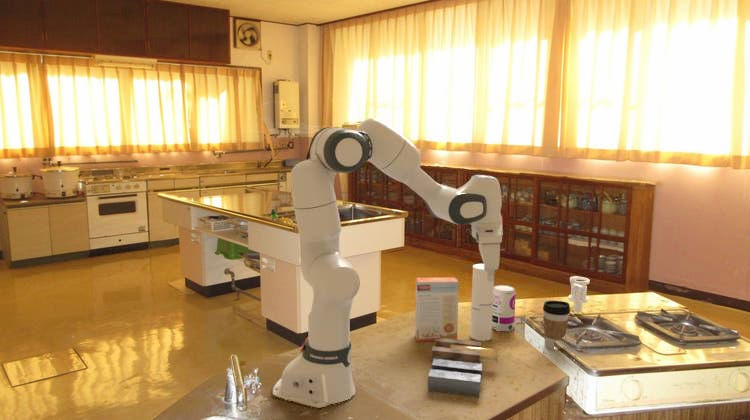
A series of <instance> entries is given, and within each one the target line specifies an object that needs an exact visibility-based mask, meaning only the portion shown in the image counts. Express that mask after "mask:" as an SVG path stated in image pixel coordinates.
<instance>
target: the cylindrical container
mask: <svg viewBox="0 0 750 420" xmlns="http://www.w3.org/2000/svg"><path fill="white" fill-rule="evenodd" d="M471 279H472V280H471V281H472V282H471V283H472V284H471V285H472V286H471V308H470V311H471V314H470V333H469V335H470V338H471V339H472V338H473V339H472V340H474V339H475V340H474V341H478V340H479V341H478V342H486V341H485V340H487V341H490V340H491V339H492V336H493V335H492V333H493V331H492V329H493V328H492V313H493V290H494V287H495V280H494V281H488V279H487V271H485V270H484V263H477V264H473V265H472V278H471Z"/></svg>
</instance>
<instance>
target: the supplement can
mask: <svg viewBox="0 0 750 420" xmlns="http://www.w3.org/2000/svg"><path fill="white" fill-rule="evenodd" d="M516 296H517V292H516V290H515V288H514V287H513V286H510V285H502V284H498V285H497V284H496V285H494V290H493V313H492V329H493V330H494V329H495V330H494V331H496V330H498V331H497V332H500V331H509V332H511V331H513V329H514V328H515V317H516V315H515V314H516V298H517V297H516ZM510 330H511V331H510Z"/></svg>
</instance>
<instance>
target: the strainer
mask: <svg viewBox="0 0 750 420" xmlns="http://www.w3.org/2000/svg"><path fill="white" fill-rule="evenodd" d="M569 282H570V287H571V290H570V294H569V295H568V300H569V301H570V302H573V310H574V311H577V312H580V311H582V310H583V304H584V303H585V304H586V303H588V302H589V297H588V296H587V290H588V286H587V285H589V284H590V279H589V278H587V277H583V276H577V275H575V276H570V277H569Z"/></svg>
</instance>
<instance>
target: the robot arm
mask: <svg viewBox="0 0 750 420" xmlns="http://www.w3.org/2000/svg"><path fill="white" fill-rule="evenodd" d="M366 162H369V163H370V164H372V165H374V166H375V168H376V169H378V170H380V172H382V173H383V174H385V175H386V176H388V177H389V178H391V179H394V180H395V181H398V182H400V183H402V184H404V185H406V186H407V187H408V188H409V189H410V190H411V191H413V192H414V193H415V194H417V195H418V196H419V197H420V199H422V201H423V202H424V204H425V206H426V208H427V211H429V213H430V214H431V216H433V217H435V218H436V219H440V220H444V221H447V222H449V223H452V224H455V225H458V226H466V225H469V224H470V225H471V236H472V238H474V239H475V240H476V242H477V243H478V251H479V253H480V256H481V259H482V260H481V261H482V262H483V263H482V264H484V270H485V271H487V279H488V281H494V282H495V272H496V271H497V270H499V266H500V258H501V257H500V255H501V244H502V243H503V235H504V233H503V231H504V229H503V216H502V213H501V212H502V211H501V209H502V206H503V205H502V204H503V203H502V200H503V199H502V191H501V185H500V182H499V180H498V178H496V177H495V176H492V175H486V174H474V175H472V176H471V177H470V179H469V181H467V182H466V183H465V184H463V185H462V186H460V187H459V188H455V187H452V186H448V185H446V184H443V183H442V184H441V183H438V182H437V181H436V180H434V179H433V178H432V177H431V176H429V174H428V173H426V172H425V171H424V170H423V169H422V168H421V165H422V153H421V152H420V150H419V149H418V148H417V146H416V145H415V144H414V143H413V142H412V141H411V140H410V139H409V138H408V137H406V136H405V135H404V134H403V133H401V132H400V131H399V130H397V129H396V128H395V127H393V126H391V124H389V123H387V122H385V121H383V120H381V119H380V118H377V117H370V118H368V119H366V120H364V121H362V122H361V123H360V125H358V126H357V128H356V129H349V128H347V129H346V128H344V127H341V126H340V127H339V126H331V127H324V128H322V129H319V130H318V131H317V132H316V133H315V134H314V135H313V136H312V138H311V141H310V144H309V149H308V150H307V153H306V159H305V160H301V161H300V162H298V163H297V164H295V165H294V166H293V168H291V171H290V191H291V192H290V193H291V199H292V205H293V210H294V216H295V221H296V224H297V225H296V226H297V231H298V236H299V249H300V250H299V252H300V253H299V254H300V256H299V257H300V263H299V264H300V272H301V274H302V276H303V278H304V280H305V281H306V283H307V284H308V285H309V286H311V288H312V293H313V300H312V304H311V310H310V312H309V314H308V315H307V316H308V317H307V319H308V320H307V324H308V326H307V327H308V328H307V329H308V336H307V337H306V338H305V340H304V342H303V343H302V345H301V347H300V348H299V350H300V351H299V353H302V354H300V355H298V356H297V357H295V358H294V359H292V360H291V361H290V362H288V364H287V365H286V366H285V368H284V369H283V372H282V374H281V378H279V380H277V382H275V384H274V386H273V388H272V396H273V395H276V396H279V397H283V398H287V399H291V400H295V401H299V402H303V403H307V404H310V405H313V406H317V407H323V406H326V405H328V404H331V403H337V402H342V401H345V400H347V401H349V400H351V399H352V398H353V397H354V396H355V394H356V392H357V391H356V386H355V383H354V380H353V374H352V367H351V363H352V358H353V356H352V355H353V354H352V353H353V352H352V342H351V340H350V338H351V335H350V332H351V331H350V327H351V326H350V323H351V322H350V318H351V311H352V306H353V301H354V298H355V297H356V296H357V294H358V292H359V290H360V286H361V279H360V276H359V274H358V271H357V270H356V269H355V267H354V265H353V264H352V263H351V262H349V261H348V260H347V259H345V258H344V257H343V256H342V254H341V250H340V234H341V232H342V224H341V218H340V211H339V206H338V201H337V196H336V192H335V188H334V187H335V178H336V175H337V173H340V174H346V173H347V174H349V173H352V172H354V171H356V170H358V169H359V168H361V167H362V166H363V165H364V164H365V163H366ZM353 395H354V396H353ZM289 396H290V397H289ZM352 396H353V397H352ZM351 397H352V398H351ZM348 399H349V400H348ZM345 402H346V401H345ZM314 403H316V404H314ZM342 403H343V402H342Z"/></svg>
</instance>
